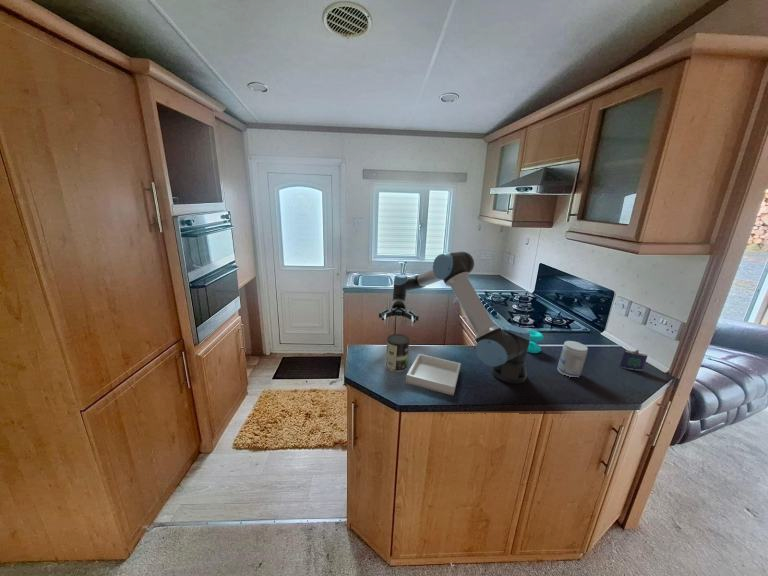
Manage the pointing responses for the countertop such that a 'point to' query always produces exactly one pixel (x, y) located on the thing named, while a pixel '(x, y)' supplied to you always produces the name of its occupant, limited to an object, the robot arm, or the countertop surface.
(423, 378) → the box
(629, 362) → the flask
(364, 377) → the countertop surface
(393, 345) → the coffee can
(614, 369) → the countertop surface
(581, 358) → the supplement tub
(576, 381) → the countertop surface
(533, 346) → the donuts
